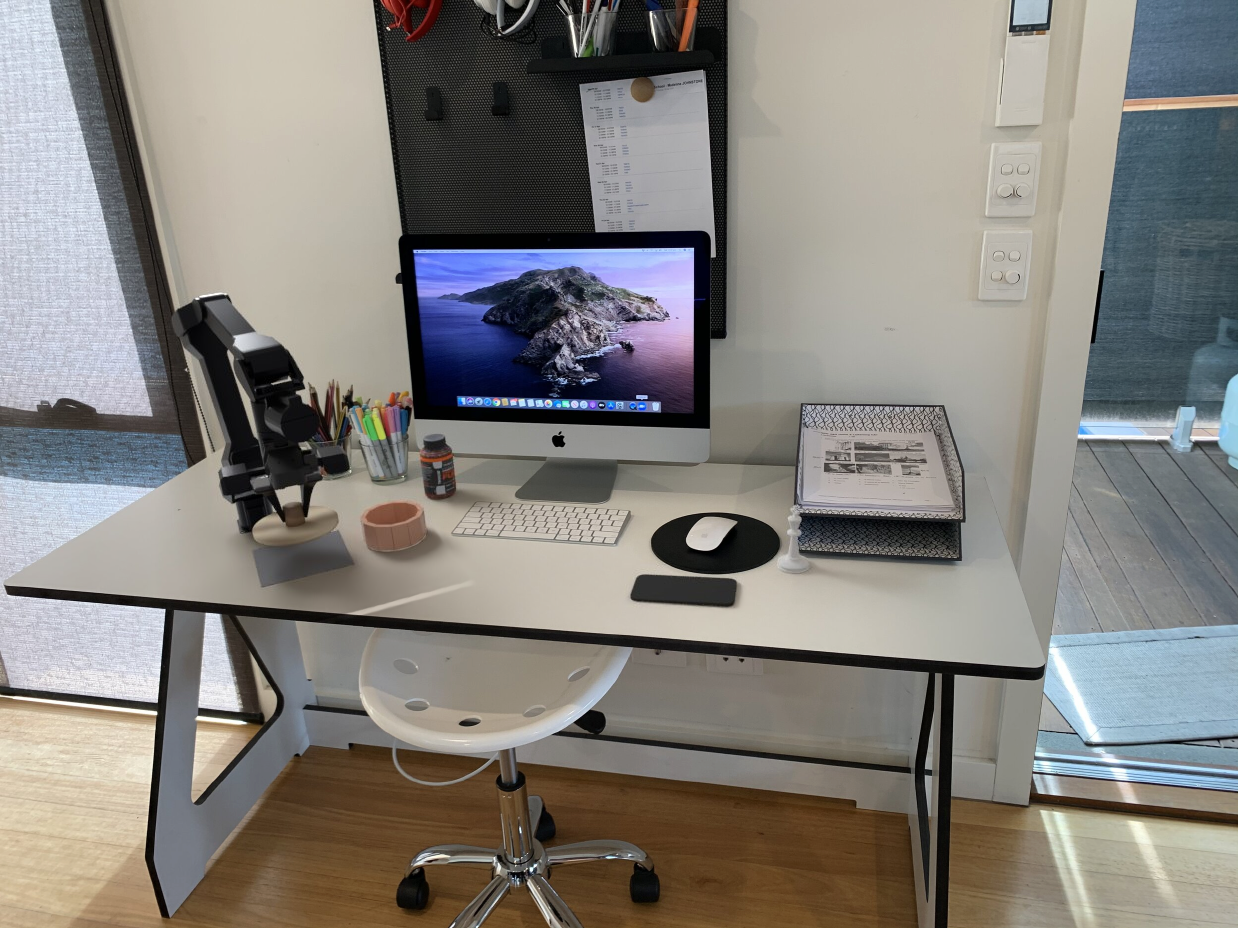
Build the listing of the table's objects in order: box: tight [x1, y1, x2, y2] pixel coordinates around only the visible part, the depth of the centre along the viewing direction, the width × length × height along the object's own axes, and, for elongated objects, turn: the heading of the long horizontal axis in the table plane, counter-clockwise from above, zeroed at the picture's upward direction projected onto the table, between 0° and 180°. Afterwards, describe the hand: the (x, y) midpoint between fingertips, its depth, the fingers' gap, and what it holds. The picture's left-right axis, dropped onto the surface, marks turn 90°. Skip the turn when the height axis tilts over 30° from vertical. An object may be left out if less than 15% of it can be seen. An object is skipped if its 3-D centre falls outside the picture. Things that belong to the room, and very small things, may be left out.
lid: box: [252, 501, 340, 546], centre depth 142 cm, size 13×13×4 cm
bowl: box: [359, 500, 428, 553], centre depth 149 cm, size 10×10×5 cm
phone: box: [629, 573, 738, 608], centre depth 131 cm, size 7×1×15 cm
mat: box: [251, 529, 355, 588], centre depth 145 cm, size 14×14×1 cm
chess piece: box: [776, 504, 811, 574], centre depth 134 cm, size 5×5×10 cm
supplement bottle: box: [419, 433, 457, 500], centre depth 165 cm, size 6×6×11 cm
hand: (294, 519), depth 142 cm, fingers closed on lid, 3 cm apart
